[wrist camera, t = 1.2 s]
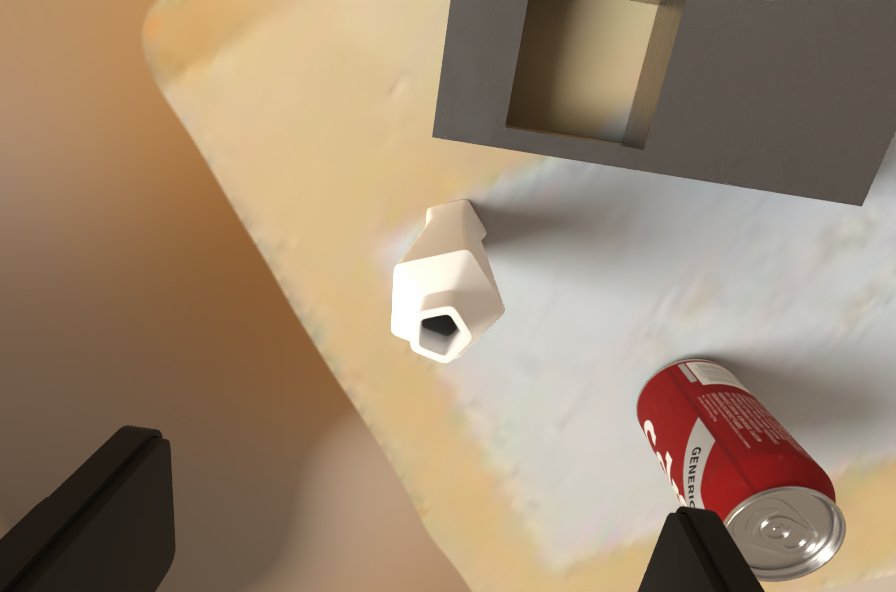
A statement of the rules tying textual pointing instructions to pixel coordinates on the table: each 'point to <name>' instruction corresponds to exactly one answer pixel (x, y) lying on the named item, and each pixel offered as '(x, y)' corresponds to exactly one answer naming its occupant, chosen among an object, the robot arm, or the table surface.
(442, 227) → the perfume bottle
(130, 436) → the robot arm
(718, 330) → the table surface
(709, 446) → the soda can
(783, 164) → the grey block with hole
